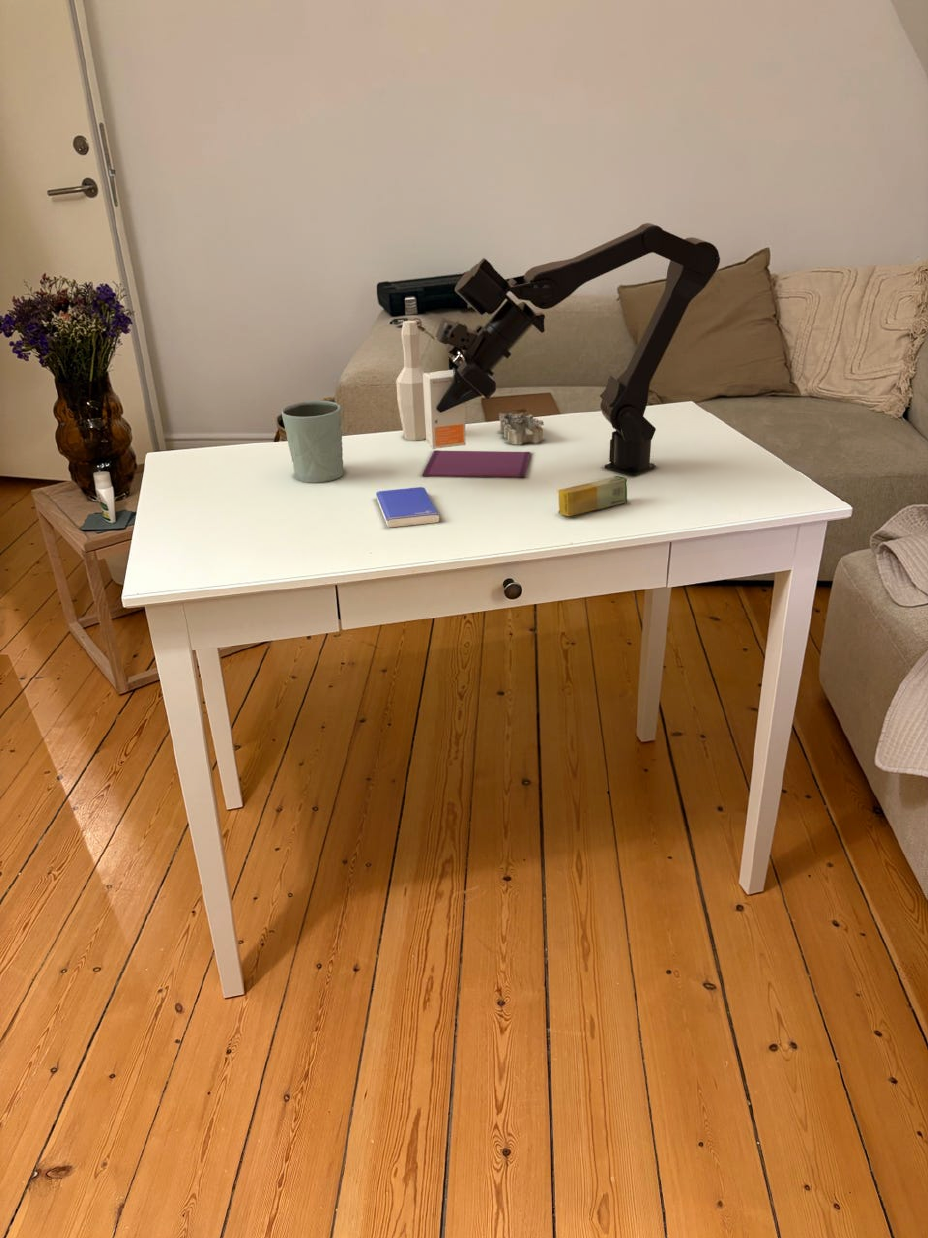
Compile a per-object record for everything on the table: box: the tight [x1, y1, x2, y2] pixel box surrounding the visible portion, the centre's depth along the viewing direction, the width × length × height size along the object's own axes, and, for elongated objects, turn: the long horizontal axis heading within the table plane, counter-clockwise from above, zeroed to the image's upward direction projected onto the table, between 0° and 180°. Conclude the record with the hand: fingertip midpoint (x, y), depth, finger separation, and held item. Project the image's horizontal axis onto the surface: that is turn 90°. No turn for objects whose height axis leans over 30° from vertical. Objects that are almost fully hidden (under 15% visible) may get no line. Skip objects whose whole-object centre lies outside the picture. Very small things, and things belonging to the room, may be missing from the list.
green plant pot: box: [281, 400, 344, 484], centre depth 170 cm, size 10×10×12 cm
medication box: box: [557, 475, 628, 517], centre depth 153 cm, size 12×3×4 cm, turn 121°
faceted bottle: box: [395, 320, 426, 441], centre depth 185 cm, size 6×6×22 cm
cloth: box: [421, 450, 531, 479], centre depth 175 cm, size 18×13×1 cm
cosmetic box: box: [423, 369, 467, 450], centre depth 162 cm, size 6×4×12 cm
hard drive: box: [375, 486, 440, 528], centre depth 156 cm, size 2×8×12 cm
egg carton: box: [498, 412, 545, 446], centre depth 188 cm, size 11×8×4 cm
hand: (436, 406), depth 161 cm, fingers closed on cosmetic box, 4 cm apart
